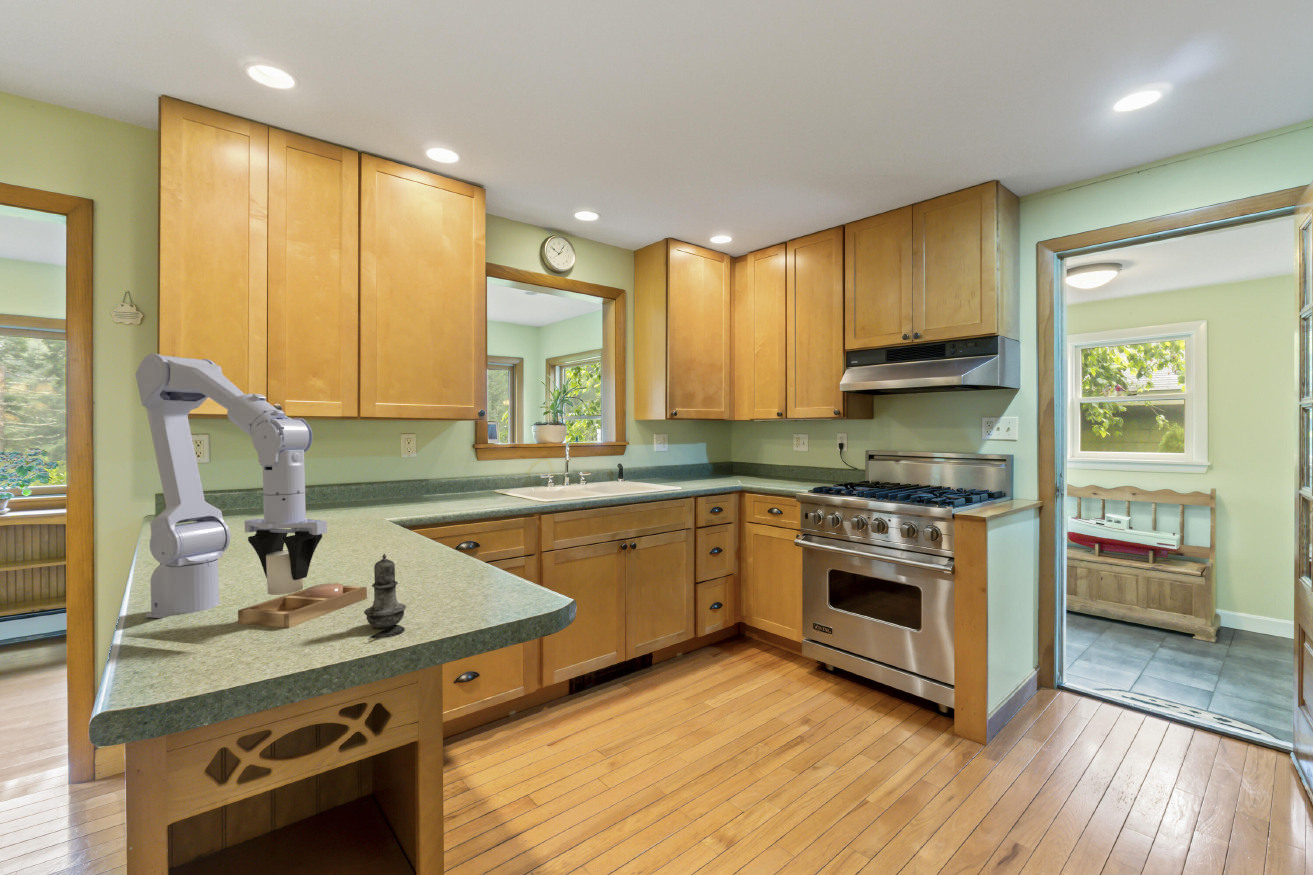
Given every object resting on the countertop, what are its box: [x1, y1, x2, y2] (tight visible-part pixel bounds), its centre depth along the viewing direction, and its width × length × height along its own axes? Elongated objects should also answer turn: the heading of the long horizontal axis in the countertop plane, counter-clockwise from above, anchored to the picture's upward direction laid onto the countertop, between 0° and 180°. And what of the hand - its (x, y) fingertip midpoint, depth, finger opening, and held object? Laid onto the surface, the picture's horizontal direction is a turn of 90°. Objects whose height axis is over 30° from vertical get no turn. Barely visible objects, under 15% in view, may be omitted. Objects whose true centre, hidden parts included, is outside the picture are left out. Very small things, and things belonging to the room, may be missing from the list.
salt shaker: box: [363, 553, 407, 639], centre depth 89 cm, size 6×6×12 cm
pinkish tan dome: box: [305, 582, 344, 599], centre depth 102 cm, size 6×6×3 cm
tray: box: [237, 585, 368, 629], centre depth 98 cm, size 10×16×3 cm, turn 165°
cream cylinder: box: [266, 549, 304, 596], centre depth 94 cm, size 5×5×6 cm
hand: (286, 577), depth 95 cm, fingers closed on cream cylinder, 5 cm apart
